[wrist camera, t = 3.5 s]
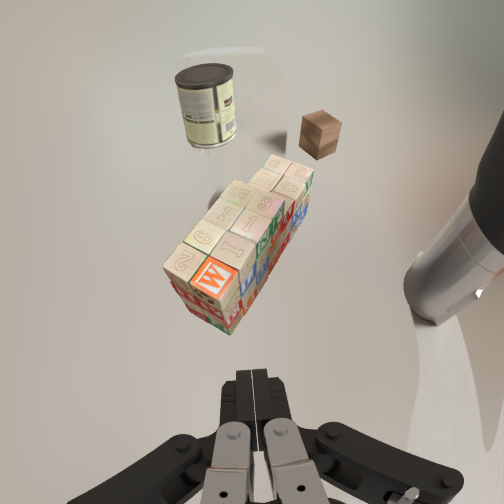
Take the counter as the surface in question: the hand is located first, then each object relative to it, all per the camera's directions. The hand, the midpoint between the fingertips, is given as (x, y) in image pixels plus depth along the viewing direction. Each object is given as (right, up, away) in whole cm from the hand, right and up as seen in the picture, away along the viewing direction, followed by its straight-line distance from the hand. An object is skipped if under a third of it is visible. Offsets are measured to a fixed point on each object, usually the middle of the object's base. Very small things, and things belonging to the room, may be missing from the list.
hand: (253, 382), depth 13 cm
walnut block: (+12, +26, +38) cm, 47 cm away
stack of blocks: (0, +5, +26) cm, 26 cm away
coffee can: (-8, +30, +41) cm, 51 cm away
